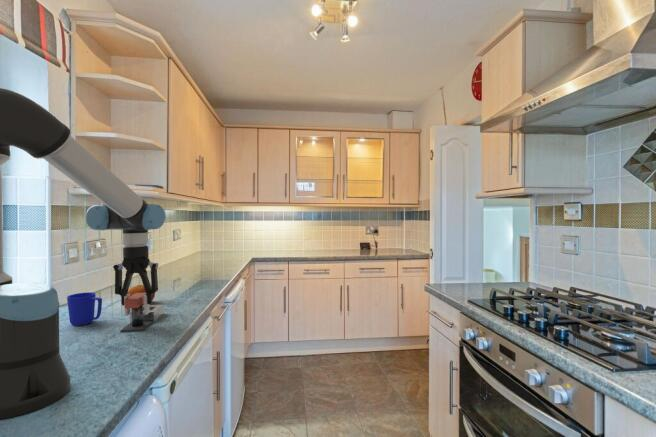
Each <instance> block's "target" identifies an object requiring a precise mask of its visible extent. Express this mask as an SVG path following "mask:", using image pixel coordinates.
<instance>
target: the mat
mask: <svg viewBox="0 0 656 437" xmlns="http://www.w3.org/2000/svg"><path fill="white" fill-rule="evenodd" d="M153 323H154V322H153V321H143V325H142V326H138V327H132V322H131V323H130V322H129V323H128V324H127V325H126V326H124V327H123V328H121V329H120V333H128V332H132V333H133V332H144V331H145V330H146V329H148V328H149V327H150V326H151V325H152V324H153Z"/></svg>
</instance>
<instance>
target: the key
mask: <svg viewBox="0 0 656 437" xmlns="http://www.w3.org/2000/svg"><path fill="white" fill-rule="evenodd" d="M144 295H146V293H135V294H133V295H132V296H130V297H128V298H126V299H125V308H130V311H131V312H132V327H138V326H142V325H143V304H144Z"/></svg>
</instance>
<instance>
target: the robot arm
mask: <svg viewBox="0 0 656 437" xmlns="http://www.w3.org/2000/svg"><path fill="white" fill-rule="evenodd" d="M11 147H15V148H18V149H19V150H22V151H24V152H26V153H27V154H29V155H30V156H31V157H32V158H34V159H37V160H40V159H43V160H45V161H46V162H47V163H49V164H50V165H52V166H53V167H54V168H55V169H57V170H58V171H60V172H61V173H63V175H65V176H66V177H67V178H69V180H71V181H72V182H74V183H75V184H77V186H79V187H81V188H82V189H83V190H85V191H86V192H87V193H89V194H90V195H91V196H93V197H94V198H95V199H97V201H99V202H100V203H102V204H96V205H95V204H94V205H92V206H89V208H88V209H87V211H86V213H85V222H86V224H87V226H88V227H89V228H90V229H91V230H93V231H109V230H113V231H115V230H117V231H118V230H119V231H120V230H122V246H123V247H122V258H123V259H122V262H120V263H117V264H113V270H114V294H115V295H119V296H120V297H121V298H120V299H121V306H124V307H123V308H124V316H125V317H127V316H130V313H131V308H125V299H126V298H128V297H130V294H128V291H129V290H130V286H131V282H132V280H133V276H134V274H138V275H139V277H140V279H141V282H142V285H144V288H145V291H146V295H144V315H147V314H148V313H150V305H152V304H153V300H152V294H153V293H155V294H156V293H157V292H158V291H159V281H158V267H159V263H158V262H152V261H151V260H150V258H149V254H150V252H149V246H148V244H149V231H150V230H151V231H152V230H158V229H160V228H161V227H163V225H164V223H165V221H166V213H165V210H164V208H163V206H161V205H159V204H154V203H148V202H147V201H146V200H145V199H143V198H142V197H141V196H139V194H138V193H136V192H135V191H134V190H132V188H130V187H129V186H128V185H127V184H126V183H125V182H124V181H123V180H121V179H120V177H118V176H117V175H116V174H115V173H113V172H112V171H111V170H110V169H109V168H108V167H107V166H105V165H104V164H103V163H102V162H101V161H100V160H99V159H98V158H96V157H95V156H94V155H93V153H91V152H90V151H88V149H86V148H85V147H84V146H83V145H82V144H80V143H79V142H78V141H77V140H76V139H75V138H74V137H73V136H72V131H71V129H70V128H69V126H67V125H66V124H65V123H63V122H62V120H60V119H59V118H58V117H57V116H55V115H54V114H53V113H52V112H50V111H49V110H47V109H46V108H45V107H43V106H42V105H41V104H38V103H37V102H36V101H34V100H32V99H31V98H28V97H27V96H25V95H23V94H21V93H18V92H15V91H13V90H11V89H7V88H2V87H0V420H2V419H8V418H9V419H10V418H15V417H18V416H22V415H25V414H29V413H31V412H32V413H33V412H35V411H37V410H41V409H43V408H46V407H47V406H50V405H52V404H54V403H55V402H58V401H59V400H60V399H62V398H63V397H65V396H66V395H68V393H69V391H70V390H71V388H72V387H71V386H72V384H71V375H70V373H68V369H67V367H66V365H65V363H64V360H63V358H62V357H61V352H60V302H59V294H58V292H57V290H56V289H55V288H54V287H53V286H52V285H48V284H45V283H38V282H29V283H27V282H17V283H16V282H15V283H13V277H12V276H11V275H9V274H8V273H6V272H5V271H4V250H3V249H4V248H3V246H4V243H3V242H4V240H3V238H4V237H3V235H4V234H3V233H4V232H3V230H4V229H3V187H2V186H3V184H2V183H3V181H2V180H3V178H2V177H3V174H2V170H3V169H2V168H3V167H2V166H3V165H4V164H5V163H7V162H8V161H9V160H11V159H12V158H11ZM148 268H149V269H150V279H149V276H148V271H147V269H148ZM123 269H125V275H124V276H125V277H124V281H123ZM151 286H152V288H151ZM127 294H128V295H127Z"/></svg>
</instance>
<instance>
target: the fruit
mask: <svg viewBox="0 0 656 437" xmlns="http://www.w3.org/2000/svg"><path fill="white" fill-rule="evenodd" d="M151 288H152V285H151ZM135 293H146V291H145V288H144V285H143V284H138V285H135V286H132V287H130V288H129V290H128V294H130V296H132V295H133V294H135ZM128 294H127V295H128ZM155 296H156V292H155V293H153V294H152V301H153V300H154V298H155ZM143 305H144V304H143Z"/></svg>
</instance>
